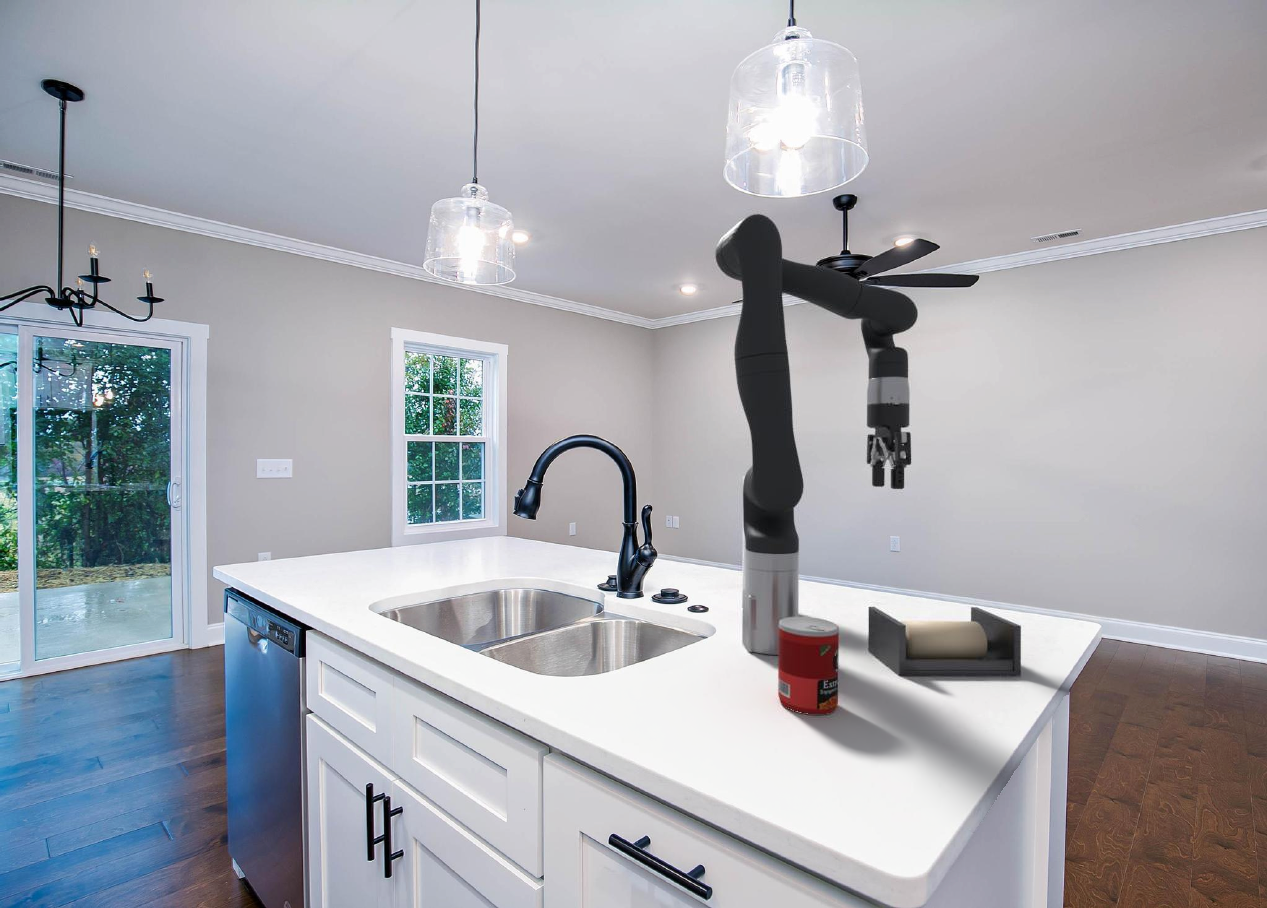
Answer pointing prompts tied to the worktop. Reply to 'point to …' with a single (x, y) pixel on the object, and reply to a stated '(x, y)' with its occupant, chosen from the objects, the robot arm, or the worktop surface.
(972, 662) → the roll holder
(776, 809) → the worktop surface
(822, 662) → the canned food
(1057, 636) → the worktop surface
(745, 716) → the worktop surface
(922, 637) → the cylinder
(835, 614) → the worktop surface
